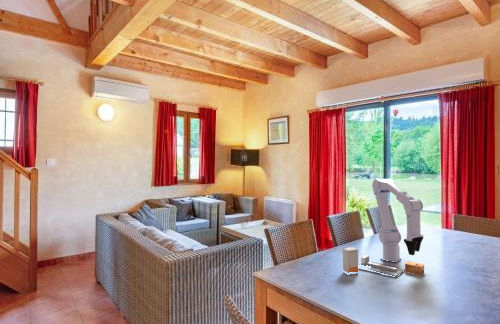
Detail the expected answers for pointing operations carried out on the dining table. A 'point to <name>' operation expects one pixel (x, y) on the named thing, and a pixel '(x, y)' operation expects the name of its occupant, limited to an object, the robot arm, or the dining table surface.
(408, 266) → the lock block
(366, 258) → the plate
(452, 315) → the dining table surface
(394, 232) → the robot arm
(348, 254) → the skincare box
